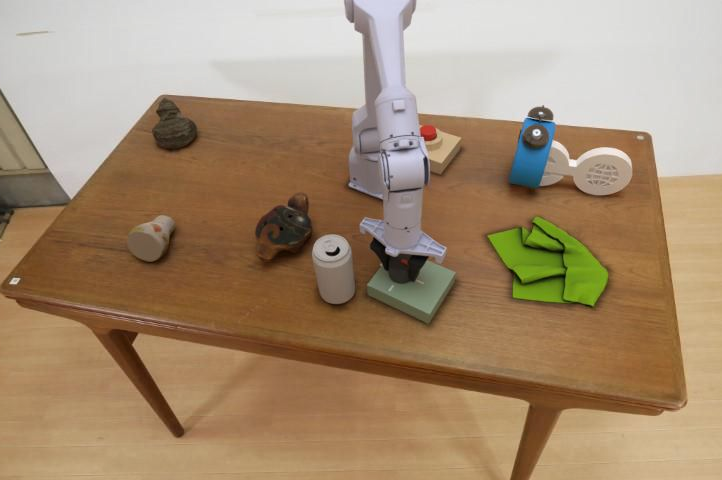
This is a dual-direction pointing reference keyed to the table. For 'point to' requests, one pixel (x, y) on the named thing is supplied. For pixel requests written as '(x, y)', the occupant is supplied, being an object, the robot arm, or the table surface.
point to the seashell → (172, 126)
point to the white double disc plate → (589, 169)
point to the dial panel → (414, 290)
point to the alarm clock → (533, 148)
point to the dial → (399, 268)
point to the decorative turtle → (284, 228)
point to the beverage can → (334, 268)
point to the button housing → (442, 150)
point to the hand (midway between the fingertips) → (401, 271)
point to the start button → (428, 132)
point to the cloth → (550, 265)
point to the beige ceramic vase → (151, 238)
